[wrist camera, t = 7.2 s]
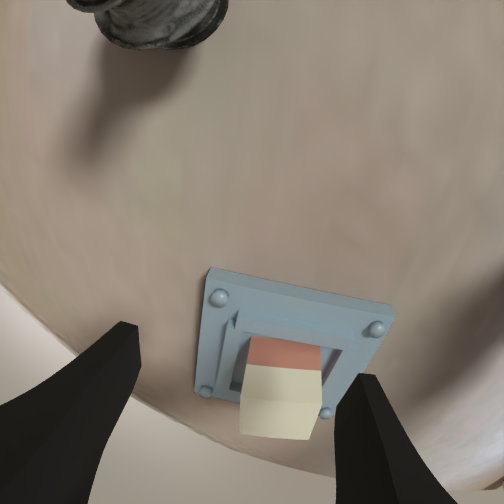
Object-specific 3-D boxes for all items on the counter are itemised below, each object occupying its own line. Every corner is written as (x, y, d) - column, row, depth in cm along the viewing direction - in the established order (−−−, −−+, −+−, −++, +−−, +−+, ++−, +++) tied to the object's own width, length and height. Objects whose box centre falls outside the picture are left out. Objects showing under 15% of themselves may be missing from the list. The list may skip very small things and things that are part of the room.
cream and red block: (319, 342, 20) (322, 404, 16) (309, 383, 23) (308, 440, 18) (251, 335, 21) (240, 397, 16) (249, 377, 23) (239, 434, 19)
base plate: (391, 305, 20) (398, 325, 18) (331, 406, 26) (332, 425, 24) (210, 267, 20) (203, 285, 18) (197, 381, 26) (191, 400, 24)
